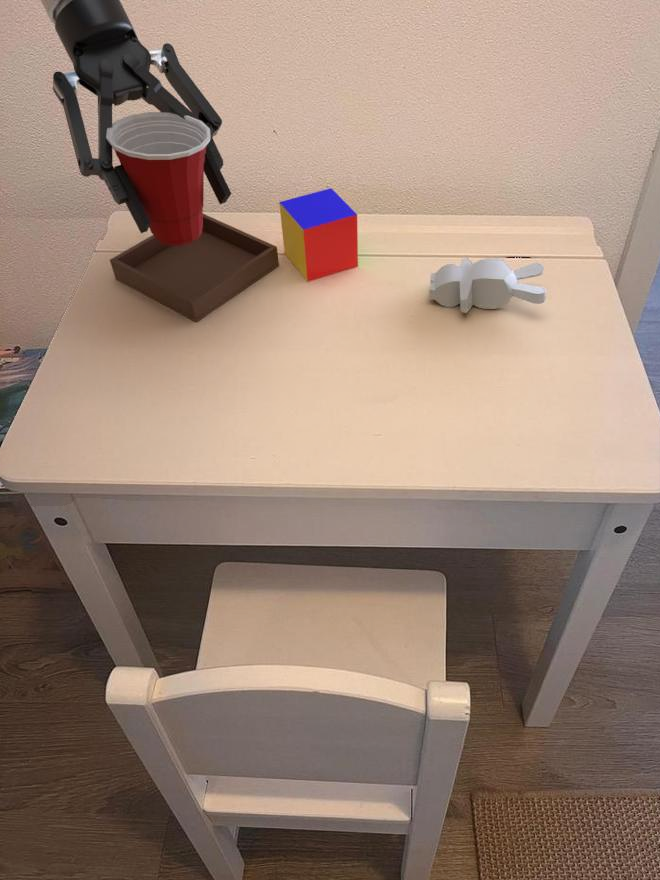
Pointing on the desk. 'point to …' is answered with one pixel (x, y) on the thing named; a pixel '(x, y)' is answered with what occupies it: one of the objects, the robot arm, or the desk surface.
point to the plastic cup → (165, 170)
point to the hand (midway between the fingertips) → (186, 213)
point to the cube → (319, 234)
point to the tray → (196, 268)
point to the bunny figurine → (484, 284)
